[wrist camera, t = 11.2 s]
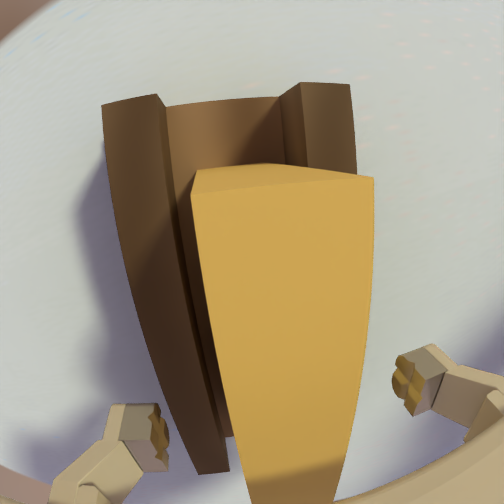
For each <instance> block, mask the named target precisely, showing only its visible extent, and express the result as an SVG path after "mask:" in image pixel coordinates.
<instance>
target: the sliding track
mask: <svg viewBox="0 0 504 504" xmlns="http://www.w3.org/2000/svg"><path fill="white" fill-rule="evenodd" d="M101 107H102V121H103V133H104V143H105V152H106V161H107V169H108V176H109V183H110V190H111V196H112V203H113V208H114V214H115V220H116V225H117V230H118V235H119V240H120V245H121V250H122V254H123V259H124V263H125V268H126V272H127V276H128V280H129V284H130V288H131V292H132V296H133V300H134V303H135V307H136V311H137V314H138V318H139V321H140V325H141V328H142V331H143V335H144V338H145V341H146V344H147V347H148V351H149V354H150V357H151V360H152V363H153V366H154V368H155V371H156V374H157V377H158V380H159V383H160V385H161V388H162V391H163V394H164V396H165V399H166V401H167V404H168V407H169V409H170V412H171V414H172V417H173V419H174V422H175V424H176V426H177V429H178V431H179V433H180V436H181V438H182V440H183V443H184V445H185V447H186V449H187V452H188V454H189V456H190V458H191V460H192V462H193V464H194V467H195V469H196V471H197V473H198V475H202V474H213V473H222V472H229V471H230V468H229V462H228V455H227V449H226V442H225V437H232V436H234V433H233V428H232V424H231V420H230V415H229V411H228V406H227V402H226V397H225V393H224V388H223V384H222V379H221V374H220V369H219V364H218V359H217V354H216V349H215V344H214V339H213V334H212V328H211V323H210V317H209V312H208V306H207V301H206V295H205V289H204V283H203V277H202V271H201V264H200V258H199V252H198V245H197V238H196V231H195V224H194V217H193V210H192V203H191V191H192V187H193V183H194V179H195V175H196V172H197V170H203V169H211V168H219V167H228V166H237V165H246V164H256V163H273V164H282V165H291V166H299V167H307V168H315V169H322V170H329V171H336V172H343V173H349V174H355V175H357V162H356V146H355V132H354V121H353V110H352V101H351V92H350V84H337V83H315V82H300V83H298V84H297V85H295V86H294V87H292V88H291V89H289V90H288V91H286V92H285V93H284V94H282V95H281V96H279V97H257V98H241V99H228V100H217V101H208V102H199V103H191V104H183V105H176V106H170V107H165V105H164V104H163V102H162V101H161V99H160V98H159V96H158V95H157V94H151V95H145V96H140V97H135V98H130V99H125V100H121V101H116V102H112V103H108V104H104V105H101Z"/></svg>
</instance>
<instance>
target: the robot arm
mask: <svg viewBox="0 0 504 504" xmlns="http://www.w3.org/2000/svg"><path fill="white" fill-rule="evenodd" d="M395 365H396V366H397V369H396V371H395V372H394V373H393V376H392V387H393V390H394V392H395V394H396V395H397V396H398V397H399V398H401V399H404V406H405V407H406V408H407V410H408V411H409V412H410V414H411V415H412V416H415V415H418V414H420V413H423V412H425V411H427V410H430V409H431V410H433V411H435V412H437V413H439V414H441V415H443V416H445V417H447V418H449V419H451V420H453V421H455V422H457V423H459V424H461V425H463V426H465V427H468V428H469V430H468V432H467V433H466V435H465V437H464V442H465V443H464V444H463V445H461V446H460V447H458V448H456V449H455V450H453V451H451V452H450V453H448V454H446V455H444V456H443V457H441V458H439V459H437V460H435V461H434V462H432V463H430V464H428V465H426V466H424V467H422V468H420V469H418V470H416V471H414V472H412V473H410V474H408V475H406V476H403V477H401V478H399V479H397V480H394V481H392V482H390V483H387V484H385V485H383V486H380V487H378V488H375V489H373V490H370V491H367V492H365V493H362V494H359V495H356V496H353V497H351V498H348V499H345V500H341V501H339V502H335V503H332V504H504V376H500V375H496V374H493V373H489V372H485V371H482V370H478V369H475V368H471V367H467V366H464V365H459V366H458V365H457V364H456V363H455V362H454V361H452V360H451V359H450V358H449V357H448V356H447V355H446V354H445V353H444V352H443V351H442V350H441V349H440V348H438V347H437V346H436V345H435V344H432V343H431V344H429V345H426V346H423V347H421V348H418V349H415V350H413V351H410V352H407V353H404V354H402V355H399V356H398V357H397V359H396V363H395ZM160 415H161V410H160V408H159V405H158V404H157V403H127V404H113V405H112V406H111V407H110V411H109V415H108V419H107V422H106V426H105V430H104V434H103V438H102V440H98V441H96V442H95V443H94V444H93V445H92V446H91V447H90V448H89V449H88V450H86V451H85V452H84V453H83V454H82V455H81V456H80V457H79V458H77V459H76V460H75V461H74V462H73V463H72V464H71V465H69V466H68V467H67V468H66V469H65V470H64V471H63V472H61V473H60V474H59V475H58V476H57V477H56V478H55V479H54V481H53V484H52V489H51V492H50V496H49V500H48V503H47V504H121V503H122V502H123V501H124V499H125V498H126V497H127V495H128V494H129V493H130V491H131V490H132V489H133V487H134V486H135V485H136V483H137V482H138V481H139V479H140V478H141V476H142V475H143V474H144V473H143V472H166V471H168V463H169V455H168V453H167V451H166V448H167V447H168V446H169V431H168V427H167V424H166V421H165V419H163V418H162V417H160ZM0 504H25V503H22V502H19V501H16V500H13V499H10V498H8V497H5V496H2V495H0Z"/></svg>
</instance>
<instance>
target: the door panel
mask: <svg viewBox="0 0 504 504" xmlns="http://www.w3.org/2000/svg"><path fill="white" fill-rule="evenodd" d="M191 203H192V210H193V217H194V224H195V231H196V238H197V245H198V252H199V258H200V264H201V271H202V277H203V283H204V289H205V295H206V301H207V306H208V312H209V317H210V323H211V328H212V334H213V339H214V344H215V349H216V354H217V359H218V364H219V369H220V374H221V379H222V384H223V388H224V393H225V397H226V402H227V406H228V411H229V415H230V420H231V424H232V428H233V433H234V437H235V441H236V445H237V449H238V453H239V457H240V461H241V465H242V469H243V473H244V477H245V480H246V484H247V488H248V492H249V495H250V499H251V502H252V504H332V503H333V500H334V497H335V493H336V490H337V486H338V483H339V479H340V476H341V472H342V468H343V464H344V461H345V457H346V452H347V448H348V444H349V440H350V435H351V431H352V426H353V421H354V416H355V411H356V406H357V401H358V395H359V389H360V383H361V377H362V370H363V364H364V357H365V349H366V341H367V332H368V323H369V313H370V302H371V289H372V273H373V252H374V178H373V177H367V176H362V175H355V174H349V173H343V172H336V171H329V170H322V169H315V168H307V167H299V166H291V165H282V164H273V163H256V164H246V165H237V166H228V167H219V168H211V169H203V170H197V172H196V175H195V179H194V183H193V187H192V191H191Z"/></svg>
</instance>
